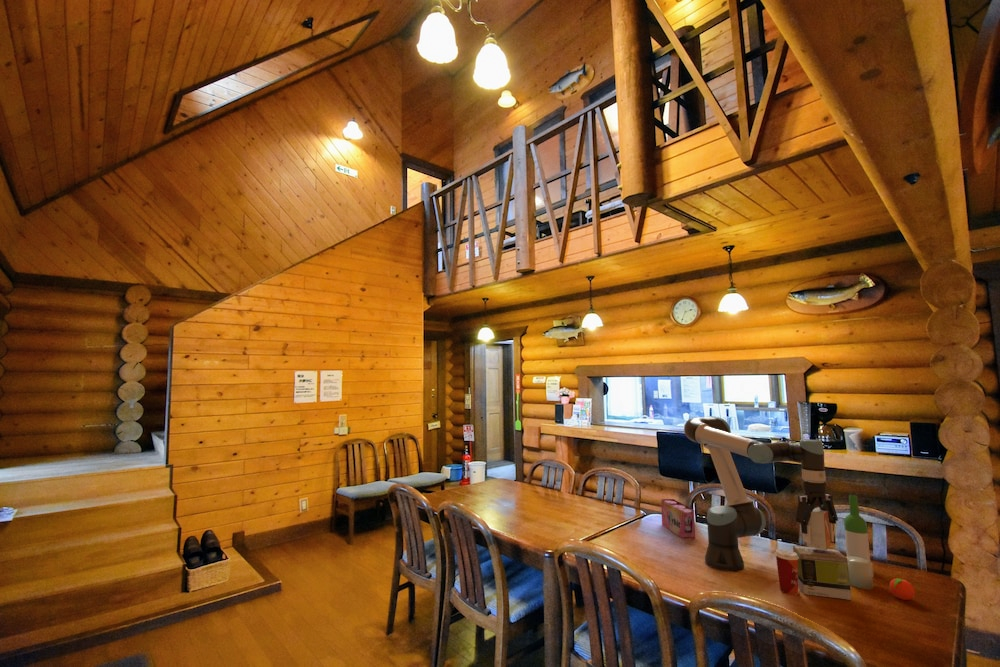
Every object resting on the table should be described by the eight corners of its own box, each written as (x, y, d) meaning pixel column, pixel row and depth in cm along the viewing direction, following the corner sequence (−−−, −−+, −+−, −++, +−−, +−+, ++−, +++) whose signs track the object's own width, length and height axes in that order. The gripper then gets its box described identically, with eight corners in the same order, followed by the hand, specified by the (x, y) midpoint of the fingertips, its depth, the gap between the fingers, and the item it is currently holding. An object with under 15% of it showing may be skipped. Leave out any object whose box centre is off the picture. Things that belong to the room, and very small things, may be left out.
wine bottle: (846, 563, 194) (840, 492, 197) (869, 567, 190) (862, 494, 193) (849, 570, 187) (843, 496, 191) (873, 574, 183) (866, 498, 187)
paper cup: (801, 598, 162) (799, 557, 164) (777, 593, 166) (774, 553, 168) (801, 590, 169) (798, 551, 170) (777, 585, 173) (774, 547, 174)
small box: (826, 550, 164) (824, 514, 166) (806, 546, 169) (803, 510, 170) (831, 545, 170) (828, 510, 171) (811, 541, 174) (809, 506, 176)
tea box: (841, 589, 170) (837, 548, 171) (852, 601, 160) (848, 558, 162) (795, 583, 174) (792, 544, 176) (803, 594, 165) (800, 552, 167)
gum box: (697, 538, 225) (696, 510, 227) (682, 539, 225) (681, 511, 226) (675, 524, 249) (674, 498, 251) (661, 524, 248) (660, 499, 250)
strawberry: (907, 605, 157) (905, 584, 158) (884, 597, 163) (882, 576, 164) (920, 601, 160) (918, 580, 161) (896, 593, 166) (894, 573, 167)
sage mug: (861, 590, 169) (859, 565, 170) (841, 581, 177) (839, 557, 178) (883, 587, 171) (881, 562, 172) (862, 578, 179) (860, 555, 180)
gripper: (798, 484, 166) (802, 547, 163) (846, 481, 171) (851, 542, 168) (781, 480, 173) (785, 540, 171) (828, 477, 178) (833, 535, 176)
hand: (818, 541), depth 169 cm, fingers closed on small box, 10 cm apart
